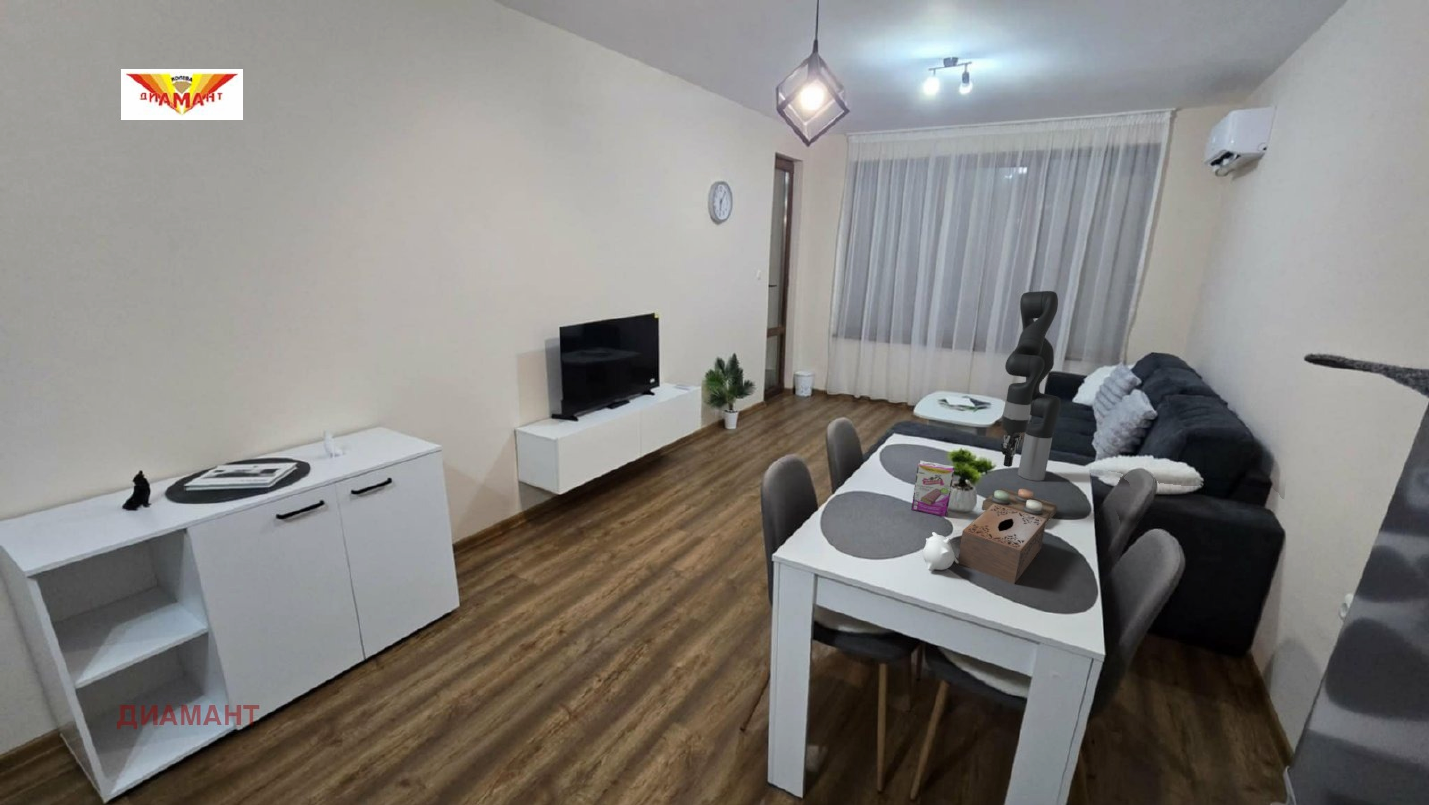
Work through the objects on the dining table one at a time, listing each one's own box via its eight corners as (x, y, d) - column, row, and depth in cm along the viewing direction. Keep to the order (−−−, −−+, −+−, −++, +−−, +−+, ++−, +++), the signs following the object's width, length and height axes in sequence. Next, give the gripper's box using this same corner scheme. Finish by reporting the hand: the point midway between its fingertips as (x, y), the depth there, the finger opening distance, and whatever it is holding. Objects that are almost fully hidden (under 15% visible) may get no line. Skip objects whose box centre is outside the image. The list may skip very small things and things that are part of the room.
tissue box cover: (1013, 585, 145) (1020, 550, 143) (957, 563, 155) (962, 530, 152) (1040, 550, 163) (1046, 519, 161) (988, 532, 173) (993, 503, 170)
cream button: (1028, 504, 184) (1029, 498, 184) (1042, 508, 181) (1044, 503, 181) (1023, 507, 181) (1024, 502, 181) (1038, 512, 178) (1039, 506, 178)
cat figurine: (936, 522, 157) (937, 540, 146) (968, 547, 155) (971, 567, 144) (915, 543, 160) (915, 562, 149) (946, 568, 159) (948, 589, 147)
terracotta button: (1020, 493, 193) (1021, 487, 193) (1034, 497, 190) (1035, 491, 190) (1015, 496, 190) (1016, 491, 190) (1029, 500, 187) (1030, 495, 187)
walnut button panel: (1000, 495, 200) (1002, 485, 199) (1056, 512, 188) (1058, 502, 187) (981, 509, 189) (983, 498, 188) (1040, 528, 176) (1042, 516, 175)
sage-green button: (996, 494, 191) (997, 489, 191) (1010, 498, 188) (1011, 493, 188) (991, 498, 188) (992, 492, 188) (1005, 502, 185) (1006, 496, 185)
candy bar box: (910, 510, 186) (917, 464, 182) (912, 505, 190) (918, 459, 186) (947, 518, 181) (954, 470, 177) (947, 512, 186) (954, 465, 182)
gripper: (1011, 409, 188) (1002, 458, 192) (996, 416, 179) (988, 467, 183) (1035, 414, 183) (1026, 464, 187) (1021, 422, 174) (1012, 474, 178)
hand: (1007, 465), depth 185 cm, fingers closed
